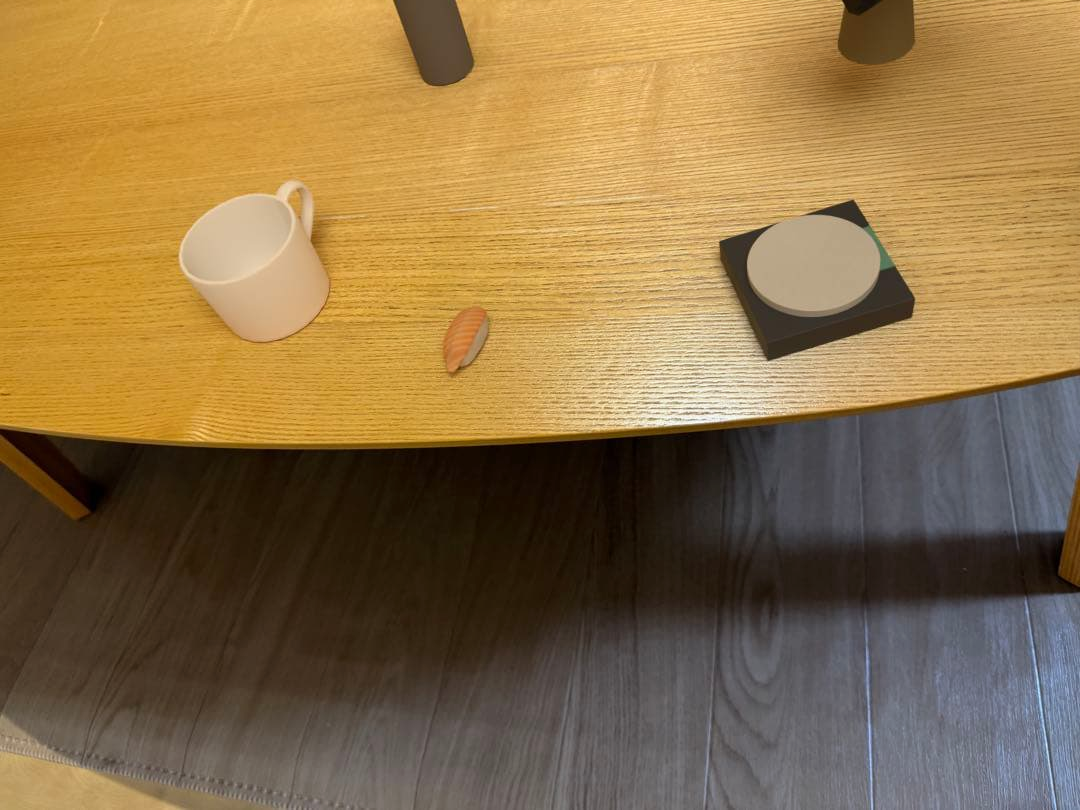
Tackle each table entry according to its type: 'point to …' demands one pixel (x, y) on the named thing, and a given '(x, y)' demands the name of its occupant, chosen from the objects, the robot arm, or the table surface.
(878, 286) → the scale
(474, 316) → the sushi
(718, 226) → the table surface
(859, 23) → the brown chess pawn
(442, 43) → the bottle
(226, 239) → the mug
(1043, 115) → the table surface
